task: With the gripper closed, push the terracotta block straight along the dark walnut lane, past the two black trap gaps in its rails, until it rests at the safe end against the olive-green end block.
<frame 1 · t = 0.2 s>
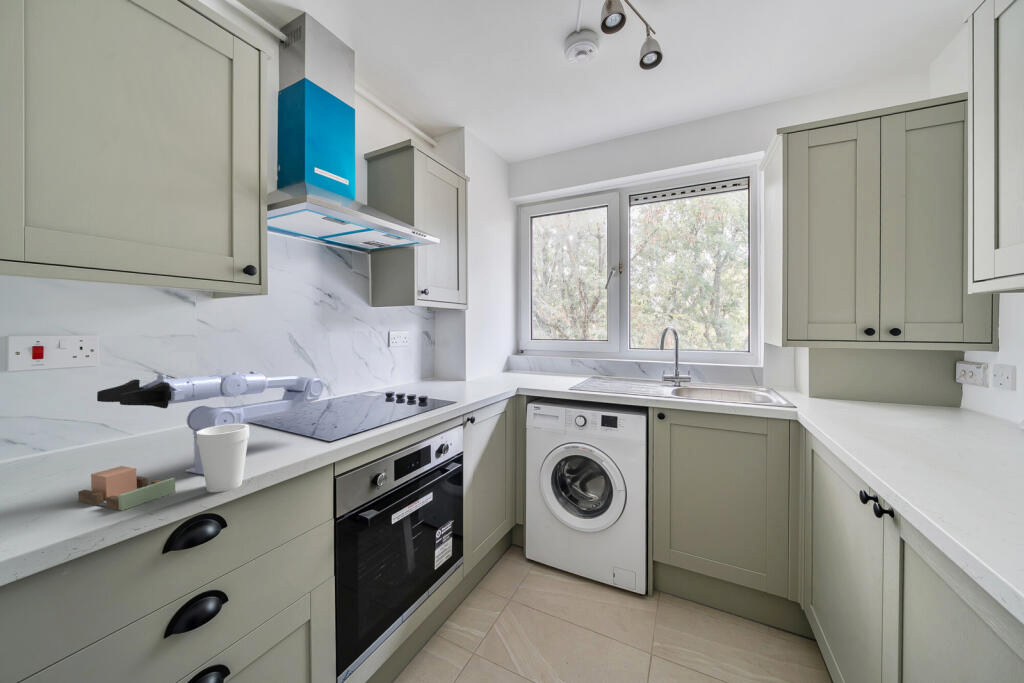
hand: (109, 398, 77), 21 cm above the counter, tool horizontal, fingers open, 7 cm apart
terracotta block: (114, 494, 81), on the counter
foam cup: (224, 487, 85), on the counter
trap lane: (128, 496, 80), on the counter
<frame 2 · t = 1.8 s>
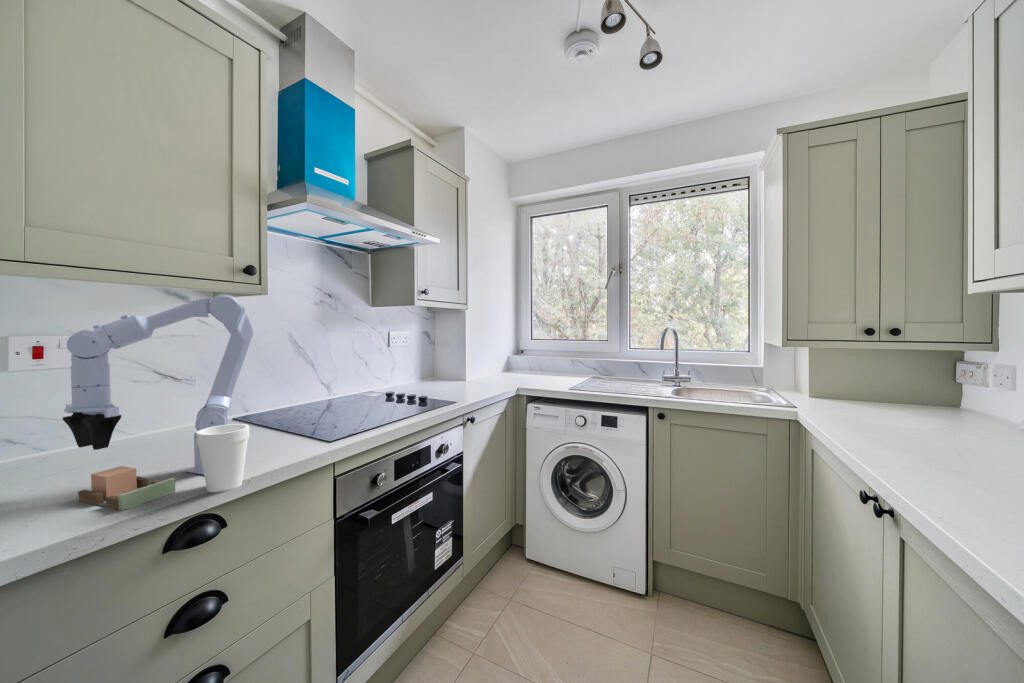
hand: (93, 447, 83), 9 cm above the counter, tool pointing down, fingers open, 5 cm apart
nothing on the counter moved.
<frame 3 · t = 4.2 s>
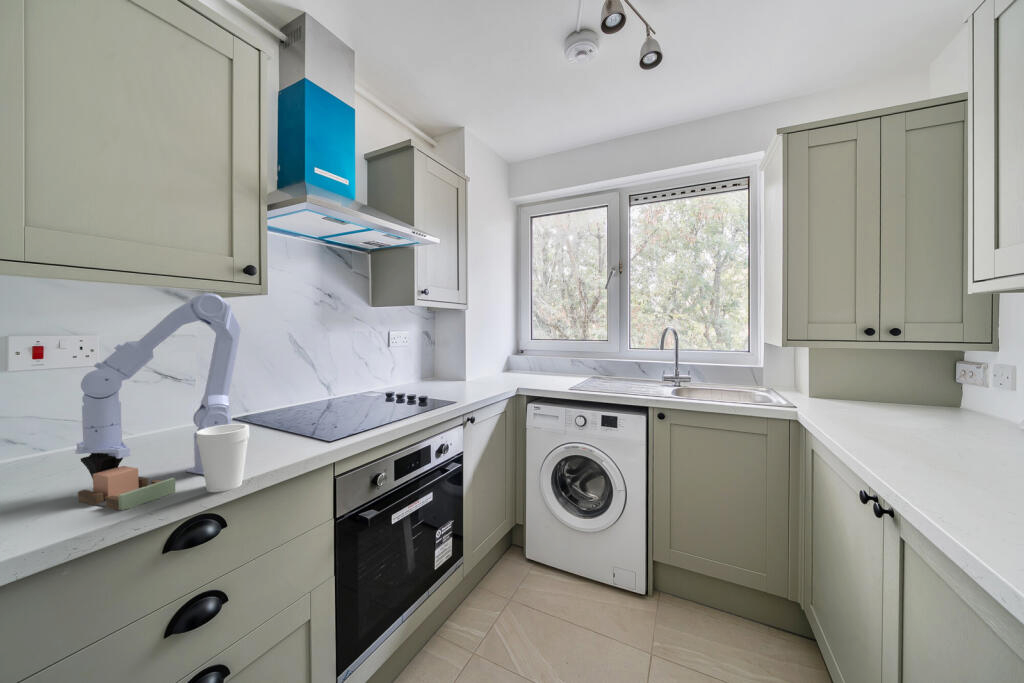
hand: (104, 487, 82), 1 cm above the counter, tool pointing down, fingers closed
terracotta block: (116, 494, 81), on the counter, touching gripper
everything else where it was.
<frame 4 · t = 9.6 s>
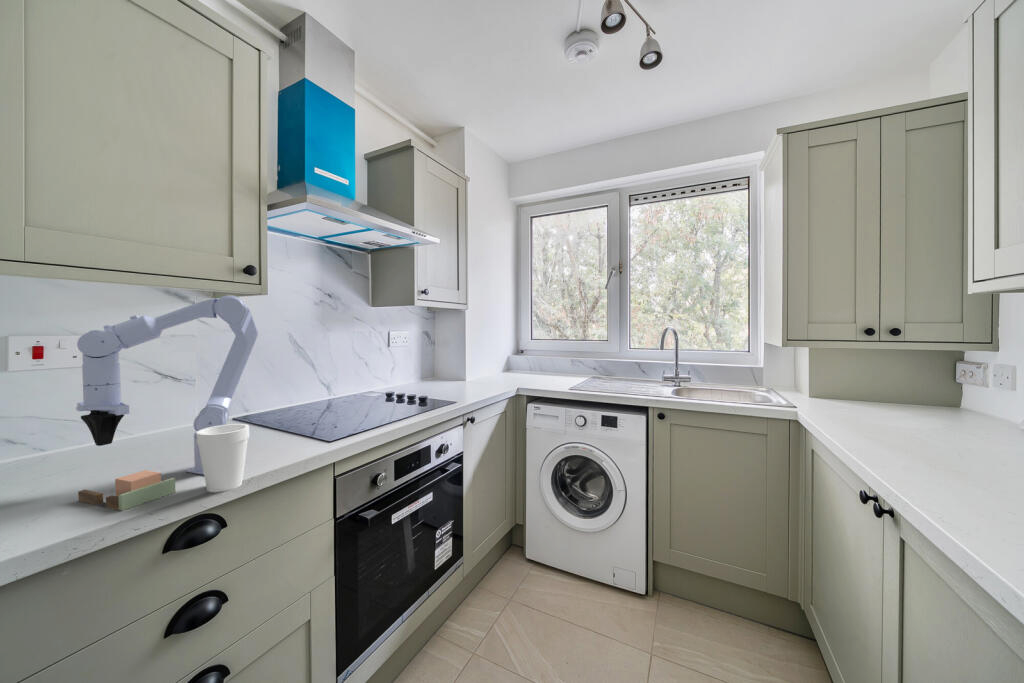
hand: (104, 444, 85), 9 cm above the counter, tool pointing down, fingers closed
terracotta block: (139, 499, 79), on the counter
everything else where it was.
at the end: terracotta block 0.1 cm from the target spot, on the counter; terracotta block tilted 0°; terracotta block moved 8.0 cm from its start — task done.
